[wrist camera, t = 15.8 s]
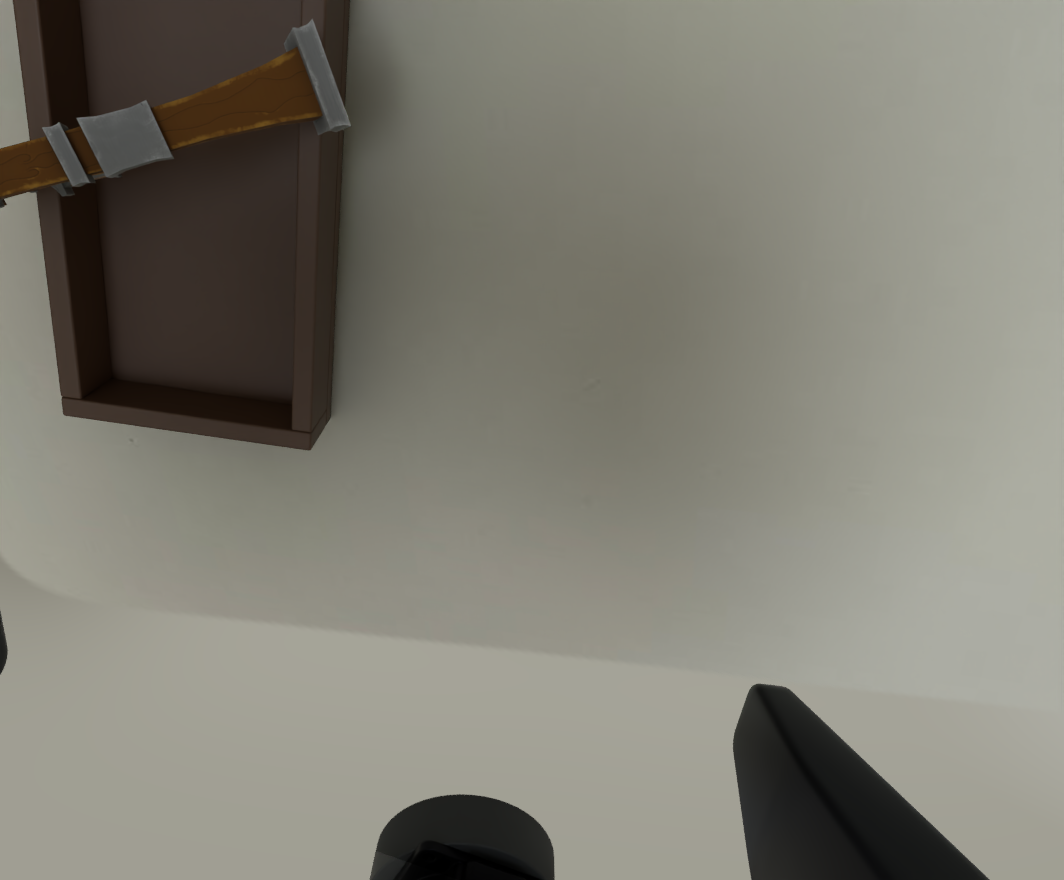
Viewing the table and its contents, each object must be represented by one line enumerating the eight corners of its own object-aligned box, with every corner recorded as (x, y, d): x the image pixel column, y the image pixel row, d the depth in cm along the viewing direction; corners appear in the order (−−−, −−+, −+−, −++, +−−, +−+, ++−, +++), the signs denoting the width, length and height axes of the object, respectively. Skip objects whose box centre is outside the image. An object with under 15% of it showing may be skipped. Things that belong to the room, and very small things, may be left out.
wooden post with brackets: (-102, 165, 15) (-213, 158, 11) (287, 55, 17) (314, 15, 13) (-48, 253, 16) (-133, 277, 12) (319, 138, 18) (353, 125, 14)
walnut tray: (330, 418, 20) (310, 451, 19) (105, 385, 20) (62, 416, 18) (360, -207, 15) (335, -248, 13) (43, -269, 14) (-28, -320, 12)
